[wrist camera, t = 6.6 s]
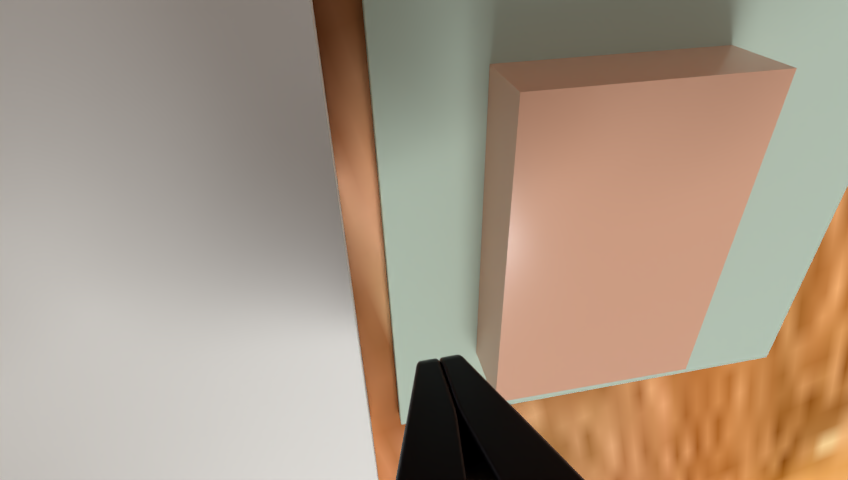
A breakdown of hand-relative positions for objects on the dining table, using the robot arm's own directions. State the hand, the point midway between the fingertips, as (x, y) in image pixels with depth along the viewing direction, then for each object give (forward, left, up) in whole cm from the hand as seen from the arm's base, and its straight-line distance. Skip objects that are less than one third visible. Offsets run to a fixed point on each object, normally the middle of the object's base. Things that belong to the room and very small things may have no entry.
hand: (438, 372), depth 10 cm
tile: (0, -5, -3) cm, 6 cm away
